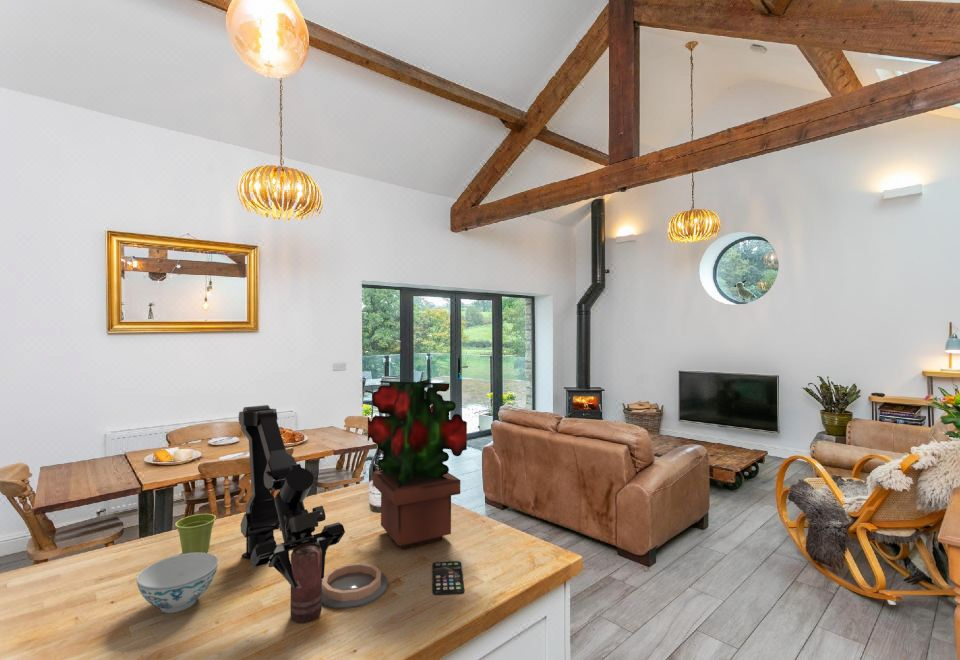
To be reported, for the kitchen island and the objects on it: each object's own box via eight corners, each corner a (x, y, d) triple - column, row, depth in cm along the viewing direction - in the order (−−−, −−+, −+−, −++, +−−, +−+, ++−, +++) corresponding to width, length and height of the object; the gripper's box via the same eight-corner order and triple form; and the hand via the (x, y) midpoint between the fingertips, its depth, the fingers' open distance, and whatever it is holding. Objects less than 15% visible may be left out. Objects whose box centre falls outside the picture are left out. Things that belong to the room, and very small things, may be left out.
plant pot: (166, 556, 124) (166, 523, 124) (199, 542, 133) (200, 511, 133) (191, 563, 120) (191, 529, 120) (223, 548, 129) (223, 516, 129)
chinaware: (157, 634, 92) (157, 595, 92) (123, 610, 100) (123, 573, 100) (231, 597, 105) (232, 563, 105) (196, 578, 113) (196, 546, 113)
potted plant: (390, 561, 122) (391, 388, 122) (367, 529, 141) (368, 380, 142) (466, 542, 133) (467, 384, 133) (434, 515, 152) (435, 377, 152)
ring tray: (300, 600, 104) (300, 588, 104) (343, 566, 119) (343, 556, 119) (362, 614, 99) (362, 602, 99) (399, 577, 114) (399, 566, 114)
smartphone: (461, 560, 122) (464, 592, 107) (461, 563, 122) (464, 595, 107) (432, 562, 121) (432, 593, 106) (432, 564, 121) (432, 596, 106)
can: (312, 625, 95) (313, 556, 95) (284, 621, 96) (284, 553, 96) (327, 608, 101) (328, 543, 101) (301, 604, 102) (301, 540, 102)
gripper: (254, 505, 96) (270, 582, 87) (342, 486, 108) (363, 552, 99) (244, 531, 102) (258, 605, 93) (328, 510, 114) (347, 574, 105)
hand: (309, 583), depth 98 cm, fingers closed on can, 5 cm apart
